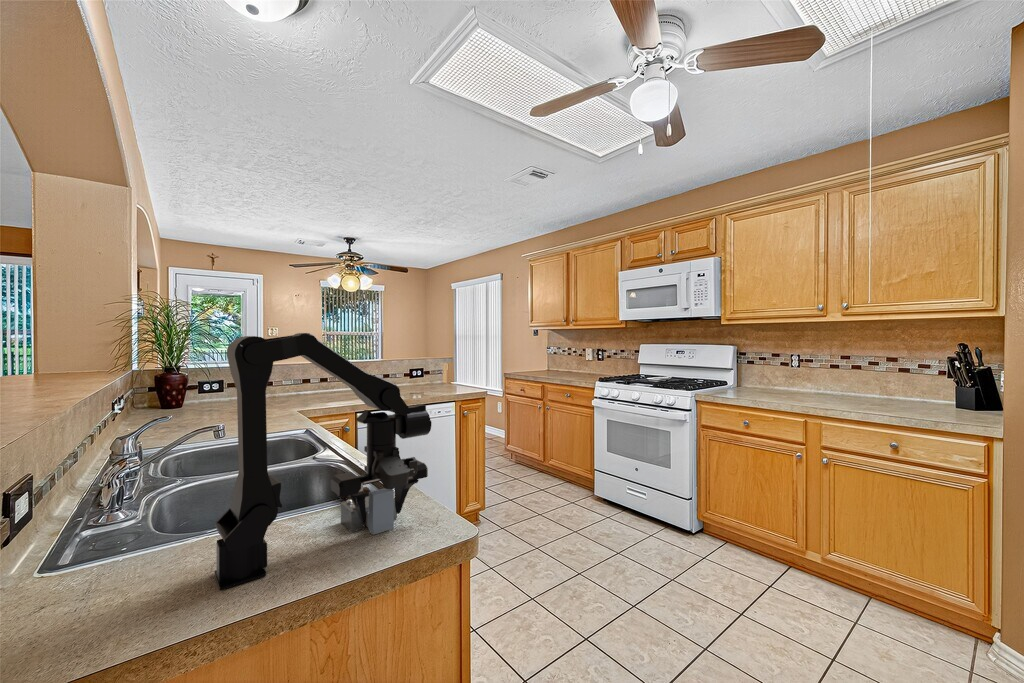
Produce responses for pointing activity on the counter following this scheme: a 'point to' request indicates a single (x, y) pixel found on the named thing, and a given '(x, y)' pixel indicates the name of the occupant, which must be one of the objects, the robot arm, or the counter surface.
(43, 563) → the counter surface
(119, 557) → the counter surface
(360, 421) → the robot arm
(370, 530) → the handle
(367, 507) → the housing
